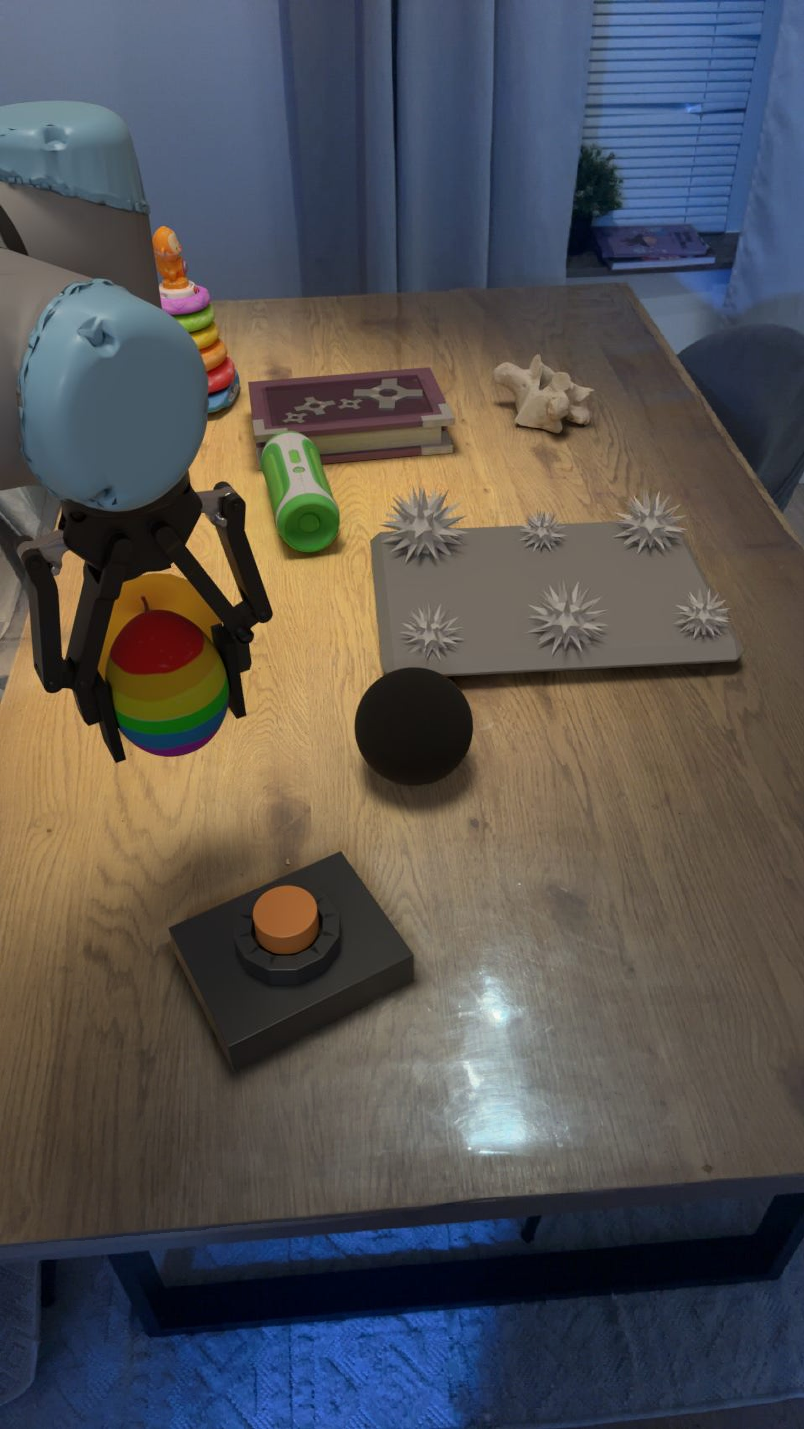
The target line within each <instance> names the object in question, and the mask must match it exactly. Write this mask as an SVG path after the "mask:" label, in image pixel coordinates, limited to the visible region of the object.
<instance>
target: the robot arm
mask: <svg viewBox="0 0 804 1429" xmlns="http://www.w3.org/2000/svg"><path fill="white" fill-rule="evenodd" d="M127 125H128V124H126V122H125V121H124V119H123V118H122V117H120V116H119V114H118V113H117V112H115V111H113V110H111V109H110V108H108V107H105V106H102V105H100V104H94V103H90V102H85V101H76V100H75V101H74V100H37V101H27V102H18V103H11V104H5V105H1V106H0V492H1V491H7V490H13V489H18V488H23V487H30V486H31V487H32V486H35V487H36V486H38V487H44V488H45V490H46V492H47V493H49V494H50V495H52V496H53V497H55V498H57V499H59V504H60V510H61V511H60V518H59V521H58V524H57V529H56V530H54V531H51V532H49V533H47V534H45V535H42V536H39V537H38V538H36V539H34V538H33V537H32V536H30V535H26V534H23V535H19V536H18V537H17V538H15V540H14V542H13V548H14V551H15V552H16V554H17V556H18V558H19V560H20V562H21V563H22V566H23V567H24V569H25V571H26V582H27V596H28V609H29V610H28V611H29V622H30V635H31V645H32V646H31V649H32V662H33V668H34V670H35V673H36V674H37V677H38V679H39V681H40V683H41V685H42V687H43V689H44V691H45V692H46V693H49V694H56V693H59V692H60V691H61V690H62V689H69V690H71V691H72V694H73V698H74V702H75V705H76V709H77V711H78V713H79V715H80V716H81V718H82V720H83V722H84V724H86V725H87V726H88V727H90V726H93V725H96V724H98V726H99V730H100V733H101V736H102V740H103V742H104V744H105V746H106V748H107V749H108V752H109V753H110V756H111V757H112V760H113V761H114V763H115V764H118V763H120V762H124V761H126V760H127V757H126V752H125V749H124V744H123V741H122V736H121V734H120V733H121V732H120V730H119V728H118V726H117V722H116V718H115V714H114V710H113V706H112V703H111V699H110V695H109V691H108V687H107V685H106V683H105V682H104V680H103V678H102V676H101V674H100V673H99V671H98V665H99V661H100V657H101V653H102V649H103V645H104V641H105V637H106V633H107V629H108V625H109V622H110V618H111V614H112V610H113V606H114V602H115V600H118V598H119V596H120V593H121V589H122V585H123V582H126V581H129V580H133V579H136V578H137V577H139V576H141V575H146V573H156V572H157V573H159V572H162V571H166V570H169V569H172V564H174V565H175V566H176V567H177V569H178V570H179V571H180V573H181V575H183V576H184V577H185V579H186V580H188V581H189V582H190V583H191V584H192V586H193V587H194V588H195V589H196V591H197V592H198V593H199V594H200V596H201V597H202V598H203V599H204V600H205V602H206V603H207V604H208V605H209V607H210V608H211V609H212V610H213V612H214V613H215V614H216V615H217V617H218V618H219V619H220V620H221V621H222V624H221V623H219V624H216V625H213V626H210V627H211V633H212V639H213V644H214V646H215V647H216V649H217V651H218V653H219V655H220V657H221V659H222V661H223V664H224V667H225V670H226V674H227V678H228V685H229V701H228V709H229V710H230V711H231V713H232V714H233V716H234V717H235V719H236V720H238V719H241V718H244V717H246V716H247V710H246V703H245V695H244V689H243V682H242V675H241V674H242V673H244V672H247V671H250V670H251V667H252V665H253V664H252V663H253V662H252V653H251V647H250V646H251V645H250V644H251V643H252V642H253V641H254V638H255V633H254V631H253V629H252V628H253V627H254V626H256V625H257V624H259V623H260V624H267V623H268V622H270V621H271V620H272V618H273V616H274V612H273V608H272V606H271V602H270V600H269V597H268V594H267V591H266V587H265V585H264V583H263V582H264V581H263V580H262V576H261V573H260V571H259V568H258V564H257V563H256V559H255V555H254V553H253V550H252V548H251V545H250V541H249V539H248V535H247V533H246V515H247V514H246V512H247V511H246V510H247V504H246V501H245V499H244V498H243V497H242V496H241V495H240V494H239V493H238V491H237V490H235V489H234V488H233V486H232V485H231V484H230V483H229V482H228V481H224V480H222V481H219V482H217V483H215V484H214V486H213V489H211V490H210V489H209V490H202V491H195V489H194V488H193V486H192V483H191V476H190V475H191V474H190V467H191V466H192V465H193V463H194V461H195V459H196V457H197V455H198V453H199V451H200V449H201V446H202V444H203V441H204V439H205V434H206V432H207V427H208V420H209V413H208V407H209V404H210V403H209V398H208V393H209V384H208V376H207V372H206V367H205V364H204V361H203V359H202V356H201V353H200V351H199V349H198V347H197V345H196V343H195V341H194V340H193V338H192V337H191V336H190V334H189V333H188V331H187V330H186V329H185V328H184V327H183V326H182V325H181V324H180V323H179V322H178V321H177V320H176V319H175V318H173V317H172V316H171V315H170V314H168V313H167V312H165V311H164V310H162V304H161V297H160V290H159V285H160V283H159V277H158V270H157V261H156V260H155V256H154V249H153V242H152V241H153V236H152V229H151V222H150V216H149V215H150V214H151V206H150V205H149V203H148V201H147V198H146V192H145V188H144V183H143V179H142V178H143V177H142V174H141V173H142V172H141V169H140V168H141V167H140V163H139V158H138V157H137V152H136V148H135V144H134V141H133V137H132V135H131V132H130V129H129V127H128V126H127ZM202 514H204V516H205V518H206V519H207V520H208V521H209V522H210V523H211V525H213V526H214V528H215V530H216V533H217V536H218V539H219V541H220V544H221V546H222V549H223V552H224V555H225V558H226V560H227V562H228V565H229V569H230V571H231V574H232V577H233V579H234V582H235V585H236V587H237V590H238V593H239V596H240V598H241V601H240V602H238V603H237V604H236V605H232V603H231V601H229V599H228V598H227V596H226V595H225V594H224V592H223V591H222V590H221V589H220V588H219V586H218V585H217V584H216V582H215V581H214V580H213V578H212V577H211V576H210V575H209V573H208V572H207V571H206V570H205V569H204V567H203V566H202V565H201V563H200V562H199V561H198V560H197V558H196V557H195V555H193V553H192V551H190V549H189V547H188V546H186V545H187V544H188V541H189V539H190V537H191V536H192V533H193V531H194V530H195V527H196V525H197V523H198V521H199V520H200V518H201V515H202ZM68 551H70V552H71V553H73V554H74V555H76V556H77V557H78V558H80V559H81V560H83V562H84V563H83V566H82V576H83V580H82V585H81V588H80V589H81V591H80V593H79V598H78V601H77V602H78V603H77V607H76V611H75V615H74V619H73V624H72V627H71V632H70V637H69V641H68V644H67V649H66V654H65V658H64V656H63V647H62V646H63V645H62V628H61V627H62V626H61V613H60V612H61V611H60V594H59V588H58V584H57V581H56V578H55V577H57V576H58V575H60V574H61V570H62V568H63V561H62V560H63V556H64V555H65V553H67V552H68ZM222 625H223V626H222Z"/></svg>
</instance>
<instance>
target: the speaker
mask: <svg viewBox="0 0 804 1429" xmlns="http://www.w3.org/2000/svg"><path fill="white" fill-rule="evenodd" d="M261 469H262V470H261V472H262V475H263V477H264V481H265V485H266V487H267V488H266V489H267V491H268V495H269V500H270V503H271V506H272V511H273V516H274V523H275V524H274V525H275V528H276V531H277V533H278V534H279V536H280V537H281V538H282V539H283V541H284V542H285V543H286V545H288V546H289V547H290V548H292V549H293V550H295V551H298V552H302V553H314V552H319V551H322V550H323V549H325V548H326V547H328V546H329V545H330V544H332V542H333V541H334V540H335V539H336V537H337V535H338V533H339V528H340V523H341V522H340V520H341V515H340V514H341V513H340V509H339V506H338V504H337V501H336V500H335V498H334V495H333V492H332V489H331V487H330V484H329V481H328V478H327V475H326V472H325V469H324V467H323V464H322V463H321V458H320V454H319V451H318V449H317V448H316V446H315V445H314V444H313V442H312V441H311V440H310V439H308V438H307V437H306V436H304V435H303V434H301V433H299V432H295V431H284V432H280V433H278V434H276V435H274V436H273V437H271V438H270V439H269V440H268V441H267V443H266V445H265V447H264V449H263V452H262V456H261Z"/></svg>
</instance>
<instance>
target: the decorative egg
mask: <svg viewBox="0 0 804 1429" xmlns="http://www.w3.org/2000/svg"><path fill="white" fill-rule="evenodd" d="M105 683H106V685H107V687H108V691H109V695H110V699H111V703H112V706H113V710H114V714H115V718H116V722H117V726H118V729H119V732H120V733H122V735H123V736H124V737H125V738H126V739H127V740H128V741H129V742H130V743H131V744H133V745H134V746H135V747H137V748H138V749H140V750H141V751H144V752H145V753H148V754H151V755H153V756H157V757H163V758H165V757H166V758H175V757H176V758H177V757H181V756H185V755H189V754H192V753H195V752H197V751H198V750H200V749H202V748H203V747H205V746H206V745H208V743H210V741H212V740H213V738H214V737H215V735H217V733H218V732H219V730H220V728H221V726H222V725H223V723H224V720H225V718H226V716H227V711H228V709H229V707H228V701H229V685H228V678H227V674H226V670H225V667H224V664H223V661H222V659H221V657H220V655H219V653H218V651H217V649H216V647H215V646H214V644H213V643H212V641H211V640H210V639H209V637H208V636H207V635H206V634H205V633H204V632H203V631H202V630H201V629H200V628H199V627H198V626H197V625H196V624H195V623H193V622H192V621H190V620H189V619H187V618H185V617H184V616H182V615H180V614H177V613H175V612H172V611H168V610H149V611H146V612H143V613H141V614H139V615H137V616H135V617H134V618H133V619H131V620H130V621H129V622H128V623H127V624H126V625H125V626H124V627H123V628H122V630H121V631H120V632H119V634H118V635H117V637H116V639H115V640H114V642H113V644H112V647H111V649H110V652H109V655H108V659H107V663H106V669H105Z"/></svg>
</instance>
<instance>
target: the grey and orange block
mask: <svg viewBox="0 0 804 1429" xmlns="http://www.w3.org/2000/svg"><path fill="white" fill-rule="evenodd" d="M279 886H296V887H300V888H302V889H304V890H306V891H307V892H309V893H310V894H311V895H312V896H313V898H314V899H315V901H316V904H317V911H318V920H319V931H318V934H317V936H316V938H315V940H314V941H313V942H312V944H311V945H309V946H308V947H307V948H306V949H304V950H302V951H300V952H298V953H294V954H289V955H281V954H275V953H272V952H270V951H268V950H266V949H265V948H264V947H263V946H262V945H261V944H260V943H259V941H258V939H257V936H256V931H255V926H254V920H253V909H254V906H255V904H256V902H257V901H258V899H259V898H260V897H261V896H262V895H263V894H264V893H266V892H267V891H269V890H271V889H273V888H276V887H279ZM167 928H168V932H169V936H170V939H171V943H172V948H173V951H174V954H175V956H176V958H177V960H178V962H179V964H180V966H181V968H182V970H183V972H184V975H185V976H186V979H187V980H188V982H189V984H190V986H191V988H192V991H193V992H194V995H195V996H196V999H197V1001H198V1003H199V1004H200V1007H201V1009H202V1010H203V1013H204V1014H205V1017H206V1019H207V1021H208V1022H209V1025H210V1027H211V1029H212V1031H213V1033H214V1035H215V1038H216V1040H217V1041H218V1043H219V1045H220V1047H221V1048H222V1051H223V1054H224V1055H225V1057H226V1060H227V1061H228V1064H229V1065H230V1068H231V1069H232V1071H233V1073H235V1072H238V1071H240V1070H241V1069H243V1068H245V1067H247V1066H250V1065H251V1064H253V1063H255V1062H257V1061H259V1060H261V1059H263V1058H265V1057H268V1056H269V1055H270V1054H273V1053H274V1052H276V1051H278V1050H280V1049H282V1048H284V1047H286V1046H289V1045H290V1044H293V1043H294V1042H296V1041H298V1040H301V1039H302V1038H304V1037H306V1036H307V1035H311V1033H313V1032H316V1031H318V1030H320V1029H322V1028H323V1027H326V1026H327V1025H330V1024H331V1023H333V1022H335V1021H337V1020H339V1019H342V1018H343V1017H345V1016H347V1015H348V1014H350V1013H353V1012H354V1011H356V1010H358V1009H361V1008H363V1007H364V1006H366V1005H368V1004H370V1003H372V1002H374V1001H376V1000H378V999H380V998H382V997H384V996H386V995H387V994H390V993H392V992H393V991H394V992H395V991H396V990H398V989H399V988H401V987H403V986H405V985H407V984H409V983H411V982H413V981H414V979H415V976H414V975H415V973H414V972H415V971H414V970H415V969H414V968H415V962H414V960H415V959H414V958H415V955H414V953H413V952H412V950H411V948H410V947H409V945H408V944H407V942H406V941H405V940H404V939H403V937H402V936H401V934H400V933H399V932H398V930H397V929H396V927H395V926H394V924H393V923H392V921H391V920H390V919H389V918H388V916H387V914H386V913H385V912H384V910H383V909H382V907H381V906H380V904H379V903H378V902H377V900H376V899H375V898H374V896H373V894H372V893H371V891H370V890H369V889H368V888H367V886H366V885H365V883H364V882H363V880H362V879H361V878H360V876H359V875H358V873H357V872H356V870H355V869H354V868H353V866H352V864H351V863H350V862H349V860H348V859H347V857H346V856H345V855H344V853H343V852H342V851H341V850H340V851H339V850H338V851H337V852H335V853H333V854H331V855H329V856H326V857H324V858H322V859H319V860H317V861H315V862H313V863H311V864H308V865H305V866H304V867H301V868H298V869H296V870H295V871H294V870H293V871H292V872H290V873H288V874H286V875H283V876H281V877H279V878H277V879H274V880H271V881H270V882H268V883H267V882H266V883H265V884H263V885H260V886H258V887H256V888H254V889H252V890H249V891H247V892H246V893H243V894H241V895H238V896H236V897H233V898H232V899H229V900H227V901H225V902H222V903H220V904H217V905H215V906H213V907H211V908H209V909H207V910H203V911H202V912H200V913H197V914H195V915H193V916H191V917H189V918H186V919H184V920H182V921H180V922H177V923H175V924H172V925H170V926H168V927H167Z"/></svg>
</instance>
